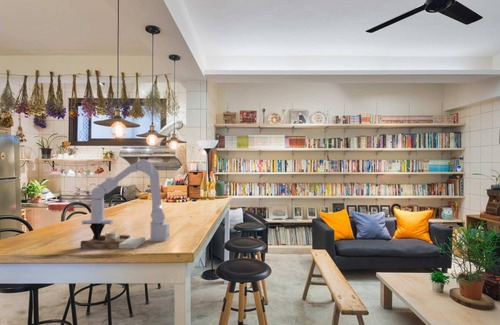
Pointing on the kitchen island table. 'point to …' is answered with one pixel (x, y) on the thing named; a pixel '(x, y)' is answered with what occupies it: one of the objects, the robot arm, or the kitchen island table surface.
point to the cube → (112, 236)
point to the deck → (114, 242)
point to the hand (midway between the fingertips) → (97, 238)
